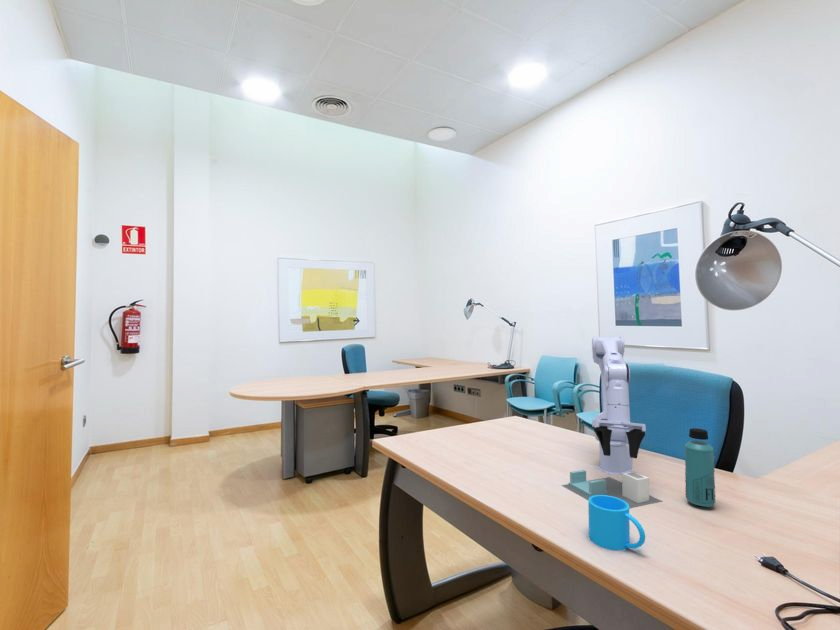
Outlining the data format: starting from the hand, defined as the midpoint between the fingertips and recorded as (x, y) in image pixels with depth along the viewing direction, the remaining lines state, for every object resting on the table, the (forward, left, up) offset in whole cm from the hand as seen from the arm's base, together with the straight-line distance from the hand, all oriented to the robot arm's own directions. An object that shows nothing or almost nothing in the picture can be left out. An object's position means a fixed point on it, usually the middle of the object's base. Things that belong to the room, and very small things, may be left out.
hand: (620, 456), depth 110 cm
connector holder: (+5, -7, -11) cm, 14 cm away
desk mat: (+1, -3, -11) cm, 12 cm away
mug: (+19, +17, -12) cm, 28 cm away
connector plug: (-3, +2, -11) cm, 11 cm away
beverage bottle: (-15, +11, -12) cm, 22 cm away
